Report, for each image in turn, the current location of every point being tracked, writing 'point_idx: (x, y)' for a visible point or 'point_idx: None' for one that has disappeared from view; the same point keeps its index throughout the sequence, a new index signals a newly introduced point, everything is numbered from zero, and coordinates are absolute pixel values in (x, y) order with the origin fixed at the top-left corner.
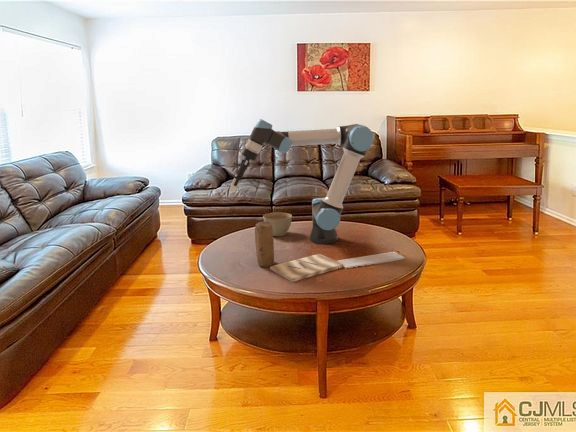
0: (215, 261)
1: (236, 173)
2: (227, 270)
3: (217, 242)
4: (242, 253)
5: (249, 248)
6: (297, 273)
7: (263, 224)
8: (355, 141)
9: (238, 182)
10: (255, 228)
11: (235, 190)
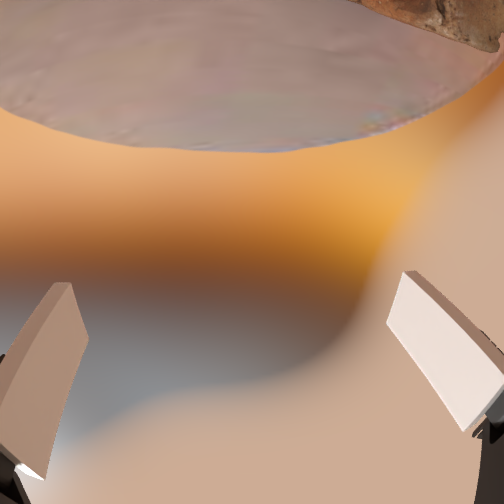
0: (282, 118)
1: (14, 482)
2: (369, 94)
3: (83, 134)
4: (224, 31)
5: (165, 8)
6: None
7: (485, 21)
8: None
9: (492, 361)
10: (428, 29)
11: (433, 287)
